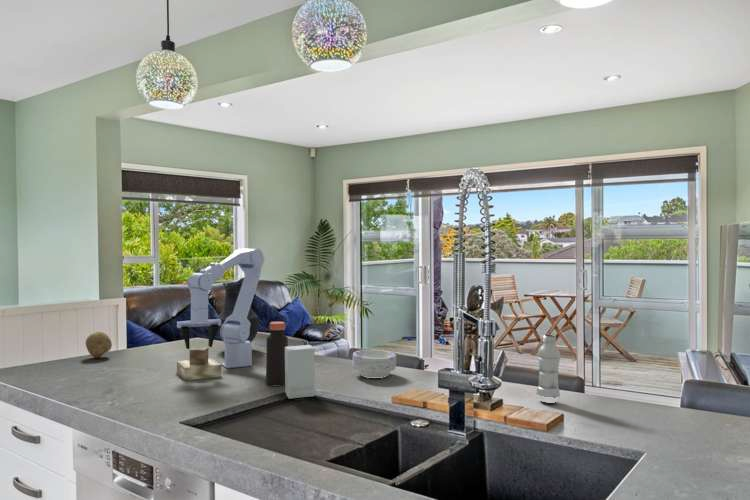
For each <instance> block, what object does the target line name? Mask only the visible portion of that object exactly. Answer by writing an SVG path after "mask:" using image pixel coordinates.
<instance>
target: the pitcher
mask: <svg viewBox="0 0 750 500" xmlns="http://www.w3.org/2000/svg"><path fill="white" fill-rule="evenodd" d="M243 280H244V277H241V278H239V279H238V281H234V282H222V285H223V286H224V290H225V298H224V299H225V300H224V303H223V304H224V305H223V308H222V310H221V311H220V314H219V315H218V316H217V317H216V319H220V320H221V325H219V329H218V331H217V333H216V334H217V335H218V337H219V339H221V340H222V341H223V338H222V337H221V335H220V329H221V326H222V325H223V324H224V322H225V320H226V318H227V317H228V316H230V315H231V314H232V313H233V311H234V307H235V304H236V301H237V298H238V295H239V292H240V289H241V286H242V283H243ZM247 319H248V320H249V322H250V323H251V325H250V334H249V337H248V339H247V340H246V341H250V343H251V344H252V342H253V341H254V340H255V338H256V337H257V334H258V332H259V328H260V327H259V323H260V321H259V317H258V315H257V314H256V312H254V310H253V308H252V306H250V309H249V312H248V315H247ZM223 343H225V341H223Z"/></svg>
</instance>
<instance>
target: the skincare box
mask: <svg viewBox="0 0 750 500" xmlns="http://www.w3.org/2000/svg"><path fill="white" fill-rule="evenodd" d="M315 350H316V349H315V348H314V347H313V346H312V344H302V345H289V346H288V347H285V385H284V386H285V387H284V393H286V394H285V395H286V397H287V398H288V399H289V400H290V399H298V398H306V397H307V398H310V397H315V396H316V394H315V393H316V390H315V389H316V386H315V377H316V375H315V360H316V357H315V355H316V354H315V353H316V352H315Z"/></svg>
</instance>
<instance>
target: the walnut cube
mask: <svg viewBox="0 0 750 500" xmlns="http://www.w3.org/2000/svg"><path fill="white" fill-rule="evenodd" d="M208 358H209V346H206V347H205V346H202V347H201V346H194V347H192V348H189V359H188V360H189V365H205V364H206V363H207V362H208Z"/></svg>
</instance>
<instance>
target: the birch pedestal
mask: <svg viewBox="0 0 750 500" xmlns="http://www.w3.org/2000/svg"><path fill="white" fill-rule="evenodd" d="M176 374H177V375H179V376H180V377H181V378H182V379H183V381H191V380H198V379H211V378H217V377H222V364H221V362H218V361H217V360H216V359H214V358H212V357H208V362H207V363H206V364H205V365H189V359H187V360H186V359H185V360H177V361H176Z"/></svg>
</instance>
